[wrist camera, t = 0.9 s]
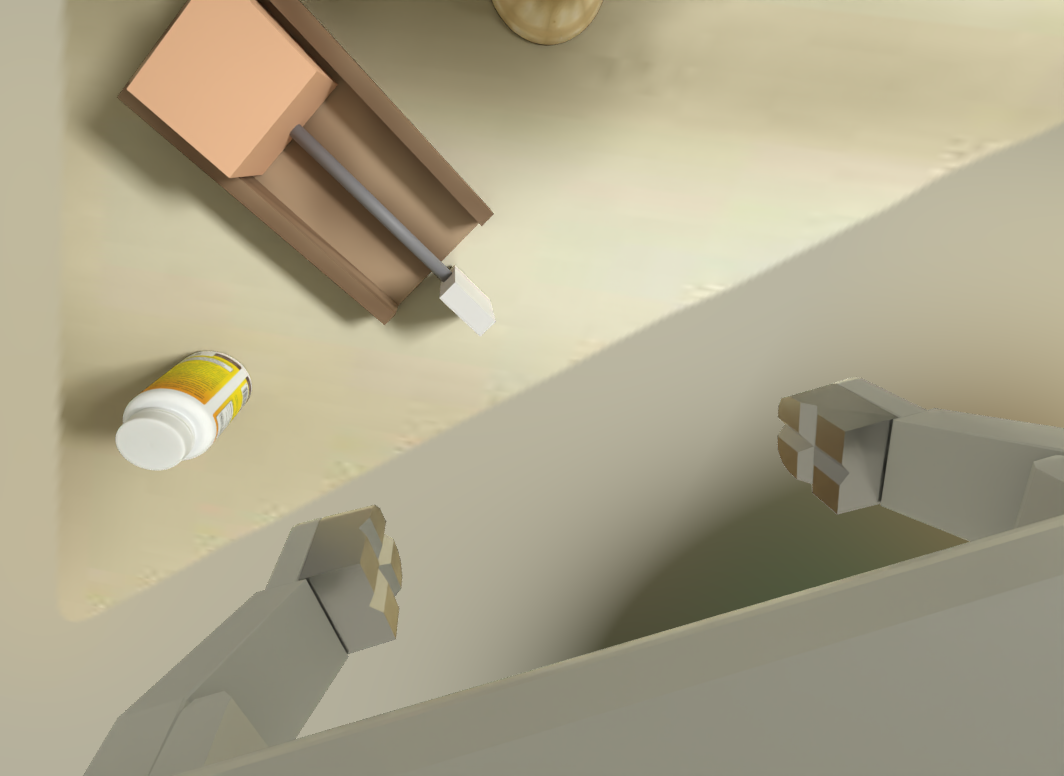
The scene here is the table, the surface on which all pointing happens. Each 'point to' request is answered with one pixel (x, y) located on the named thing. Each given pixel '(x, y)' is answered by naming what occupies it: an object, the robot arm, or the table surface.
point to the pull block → (264, 112)
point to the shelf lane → (371, 157)
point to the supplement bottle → (183, 411)
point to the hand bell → (547, 18)
